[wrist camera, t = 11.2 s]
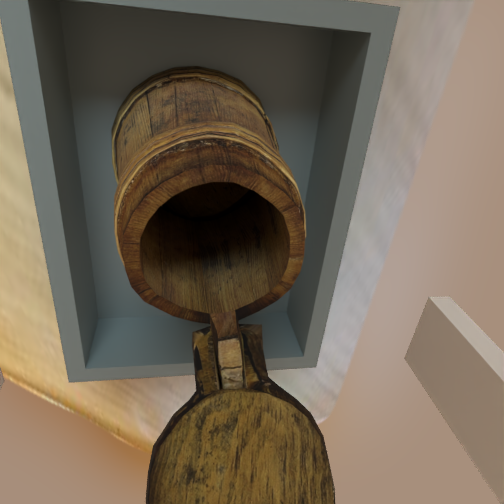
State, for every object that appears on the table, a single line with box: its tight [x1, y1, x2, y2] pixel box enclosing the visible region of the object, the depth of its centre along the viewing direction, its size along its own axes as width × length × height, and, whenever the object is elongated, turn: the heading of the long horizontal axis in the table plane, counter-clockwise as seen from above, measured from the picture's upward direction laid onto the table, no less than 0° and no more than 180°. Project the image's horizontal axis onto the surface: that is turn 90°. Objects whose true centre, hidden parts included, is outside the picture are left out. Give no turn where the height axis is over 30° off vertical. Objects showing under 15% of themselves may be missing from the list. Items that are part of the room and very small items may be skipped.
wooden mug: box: [111, 66, 335, 504], centre depth 16 cm, size 9×14×18 cm, turn 1°
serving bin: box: [0, 0, 400, 382], centre depth 22 cm, size 20×15×6 cm
